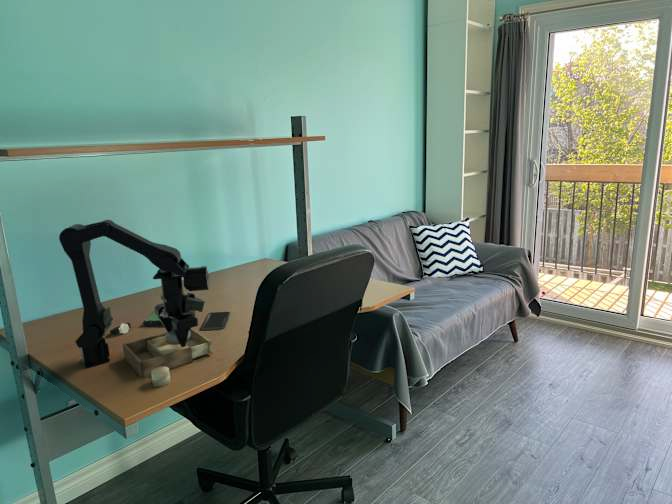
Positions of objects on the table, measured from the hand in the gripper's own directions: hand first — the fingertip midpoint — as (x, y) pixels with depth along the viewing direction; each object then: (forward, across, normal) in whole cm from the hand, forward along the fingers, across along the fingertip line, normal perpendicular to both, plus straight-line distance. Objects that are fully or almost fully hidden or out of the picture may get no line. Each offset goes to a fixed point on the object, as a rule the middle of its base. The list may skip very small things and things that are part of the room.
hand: (178, 342), depth 146 cm
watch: (+4, +30, +8) cm, 31 cm away
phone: (+4, +17, -20) cm, 26 cm away
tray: (+3, 0, 0) cm, 3 cm away
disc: (-1, 0, 0) cm, 1 cm away
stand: (+3, -14, +10) cm, 18 cm away
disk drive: (+4, +29, -8) cm, 30 cm away
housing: (+4, 0, +6) cm, 7 cm away
